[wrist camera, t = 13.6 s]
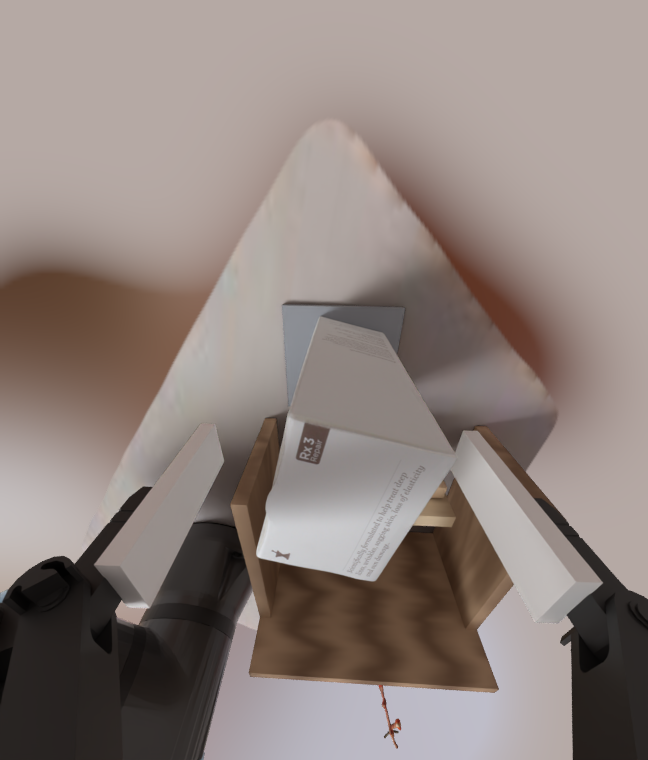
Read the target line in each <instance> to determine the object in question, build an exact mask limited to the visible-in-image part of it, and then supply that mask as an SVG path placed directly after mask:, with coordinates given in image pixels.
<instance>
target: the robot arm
mask: <svg viewBox="0 0 648 760" xmlns="http://www.w3.org/2000/svg"><path fill="white" fill-rule="evenodd" d="M455 454H456V455H457V457H458V459H457V460H456V462H455V463H454V465H453V467H452V468H451V469H450V470H451V471H452V473H453V475H454V477H455V479H456V480H457V482H458V484H459V486H460V488H461V489H462V491H463V493H464V495H465V497H466V499H467V500H468V502H469V504H470V506H471V508H472V509H473V511H474V513H475V515H476V517H477V518H478V520H479V522H480V524H481V526H482V527H483V529H484V531H485V533H486V535H487V536H488V538H489V540H490V542H491V544H492V546H493V547H494V549H495V551H496V553H497V555H498V556H499V558H500V560H501V562H502V564H503V565H504V567H505V569H506V571H507V573H508V574H509V576H510V578H511V580H512V582H513V583H514V585H515V587H516V589H517V591H518V593H519V594H520V596H521V598H522V600H523V602H524V603H525V605H526V607H527V609H528V611H529V612H530V614H531V616H532V618H533V619H534V621H535V622H536V623H559V622H560V621H561V620H563V618H565V617H566V616H568V618H569V619H570V621H571V622H572V623H573V625H574V627H573V628H572V629H571V630H569V632H567V633H566V634H565V635H564V636H562V638H561V641H560V643H561V644H562V645H564V646H565V645H566V644H568V643H569V642H570V641H571V658H572V659H571V660H572V661H571V662H572V663H571V664H572V731H573V732H572V734H573V760H648V599H647V598H645V597H644V596H641V595H639V594H637V593H635V592H632V591H629V590H628V589H626V587H625V586H624V585H623V584H621V582H620V581H619V580H618V579H617V578H616V577H615V576H614V574H612V572H611V571H610V570H609V569H608V568H607V566H606V565H605V564H604V563H603V562H602V561H601V560H600V558H599V557H598V556H597V555H596V554H595V553H594V552H593V551H592V549H591V548H590V547H589V546H588V545H587V544H586V543H585V542H584V540H583V539H582V538H580V537H579V535H578V533H577V532H576V531H575V530H574V529H573V528H572V527H571V526H569V523H568V522H567V521H566V520H565V519H564V518H563V516H562V515H561V514H560V513H559V512H558V511H557V510H556V509H555V508H554V507H552V506H551V505H550V504H548V503H547V502H546V501H545V500H543V499H542V498H533V497H532V496H531V495H530V494H529V492H528V491H527V490H526V489H525V488H524V486H523V485H522V484H521V483H520V481H519V480H518V479H517V478H516V477H515V475H514V474H513V473H512V472H511V471H510V469H509V468H508V467H507V466H506V465H505V463H504V462H503V461H502V460H501V458H500V457H499V456H498V455H497V454H496V452H495V451H494V450H493V449H492V448H491V446H490V445H489V444H488V443H487V442H486V440H485V439H484V438H483V437H482V435H481V434H480V433H479V432H478V431H463V432H462V435H461V438H460V441H459V443H458V446H457V449H456V452H455ZM223 463H224V458H223V454H222V450H221V446H220V442H219V437H218V433H217V429H216V425H215V424H206V423H201V424H200V425H199V427H198V428H197V429H196V431H195V432H194V433H193V435H192V436H191V437H190V438H189V440H188V441H187V442H186V444H185V445H184V446H183V448H182V449H181V450H180V452H179V453H178V454H177V456H176V457H175V458H174V460H173V461H172V462H171V464H170V465H169V466H168V468H167V469H166V470H165V472H164V473H163V474H162V476H161V477H160V478H159V480H158V481H157V482H156V484H155V485H154V486H153V487H142V488H141V489H139V490H138V491H137V492H136V493H134V494H133V495H132V496H130V497H129V498H128V500H127V501H126V502H125V503H124V504H123V506H122V507H121V508H120V509H119V512H118V513H116V514H115V515H114V517H113V518H112V519H111V520H110V523H108V524H107V525H106V526H105V528H104V529H103V530H102V531H101V533H100V534H99V535H98V536H97V537H96V539H95V540H94V541H93V542H92V543H91V545H90V546H89V547H88V548H87V550H86V551H85V552H84V553H83V555H82V556H81V557H80V558H79V560H78V561H77V562H76V563H75V564H74V563H73V562H72V561H71V560H70V559H69V558H67V557H65V556H59V557H53V558H50V559H47V560H45V561H42V562H40V563H39V564H37V565H35V566H34V567H32V568H31V569H29V570H28V571H27V572H25V573H24V574H23V575H22V576H21V577H19V578H18V579H17V580H16V581H15V583H14V584H13V585H12V586H11V587H10V588H9V589H8V590H5V591H3V592H1V593H0V760H203V759H204V754H205V753H204V748H205V745H206V741H207V737H208V733H209V729H210V725H211V721H212V718H213V713H214V710H215V706H216V702H217V698H218V694H219V690H220V686H221V682H222V678H223V675H224V671H225V667H226V662H227V659H228V655H229V651H230V647H231V643H232V639H233V635H234V632H235V628H236V624H237V621H238V619H239V617H240V615H241V613H242V611H243V609H244V607H245V605H246V603H247V601H248V599H249V597H250V595H251V593H252V591H253V588H252V585H251V581H250V577H249V573H248V570H247V566H246V562H245V558H244V555H243V551H242V547H241V543H240V540H239V536H238V532H237V529H234V528H231V527H228V526H224V525H219V524H211V523H198V524H193V522H194V520H195V518H196V516H197V514H198V512H199V510H200V508H201V506H202V504H203V502H204V500H205V498H206V496H207V495H208V493H209V491H210V489H211V487H212V485H213V483H214V481H215V479H216V477H217V475H218V473H219V471H220V469H221V467H222V465H223ZM121 600H122V601H123V602H124V603H125V605H126V606H127V607H129V608H147V609H146V611H145V613H144V615H143V617H142V619H141V621H140V623H139V625H136V624H133V623H131V622H128V621H126V620H123V619H121V618H118V617H117V616H116V613H115V610H116V608H117V607H118V605H119V603H120V602H121Z"/></svg>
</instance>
